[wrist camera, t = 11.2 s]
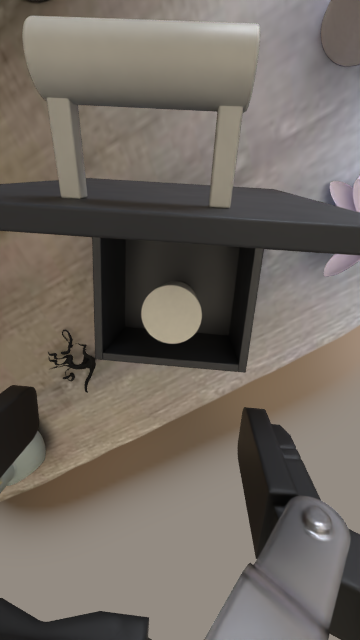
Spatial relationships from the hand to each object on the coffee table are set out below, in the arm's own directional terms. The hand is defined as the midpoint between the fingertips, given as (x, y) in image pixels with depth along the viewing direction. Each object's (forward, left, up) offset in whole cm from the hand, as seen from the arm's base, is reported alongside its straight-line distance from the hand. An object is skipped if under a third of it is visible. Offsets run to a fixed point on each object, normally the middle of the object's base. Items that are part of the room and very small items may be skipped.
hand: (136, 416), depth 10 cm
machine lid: (-2, +8, -8) cm, 11 cm away
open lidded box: (-1, +2, -26) cm, 26 cm away
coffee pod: (0, 0, -20) cm, 20 cm away
